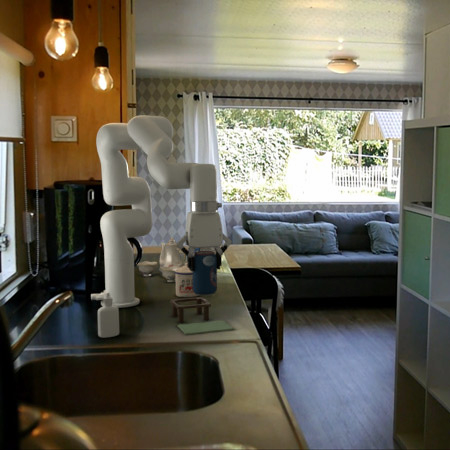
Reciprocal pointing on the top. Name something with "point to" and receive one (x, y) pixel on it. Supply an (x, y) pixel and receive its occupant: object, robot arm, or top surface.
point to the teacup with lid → (184, 282)
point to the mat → (205, 327)
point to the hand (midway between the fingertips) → (204, 269)
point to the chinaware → (165, 262)
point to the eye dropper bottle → (108, 319)
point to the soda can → (205, 273)
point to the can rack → (199, 307)
